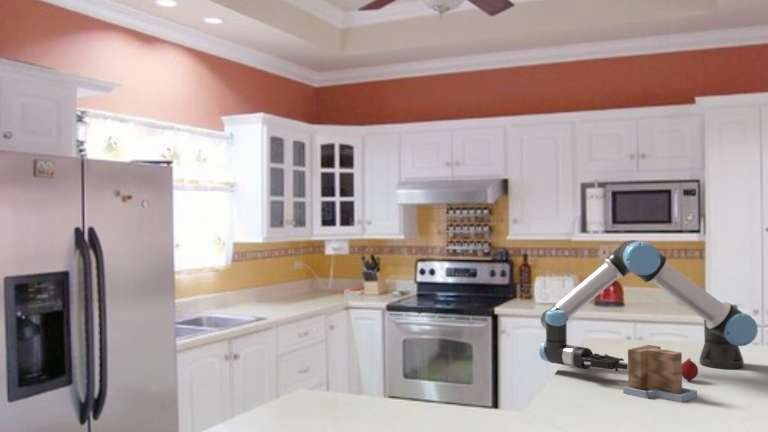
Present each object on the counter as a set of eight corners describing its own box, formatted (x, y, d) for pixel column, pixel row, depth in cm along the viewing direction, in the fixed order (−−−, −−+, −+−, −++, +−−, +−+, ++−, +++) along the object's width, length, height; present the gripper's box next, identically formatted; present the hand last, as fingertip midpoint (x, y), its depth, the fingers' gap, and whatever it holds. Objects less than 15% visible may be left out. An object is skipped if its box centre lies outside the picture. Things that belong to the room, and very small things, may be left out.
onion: (699, 383, 242) (699, 360, 242) (682, 382, 243) (681, 359, 243) (696, 379, 248) (695, 356, 248) (678, 378, 249) (678, 356, 249)
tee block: (688, 394, 229) (687, 350, 229) (668, 400, 221) (667, 356, 221) (648, 385, 240) (648, 344, 240) (628, 392, 232) (627, 349, 232)
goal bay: (703, 394, 228) (703, 388, 228) (675, 404, 217) (675, 398, 217) (651, 384, 242) (651, 378, 242) (623, 393, 231) (623, 387, 231)
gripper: (589, 364, 259) (648, 376, 240) (567, 370, 251) (626, 382, 232) (589, 344, 259) (648, 354, 240) (566, 349, 251) (626, 359, 232)
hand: (637, 368), depth 236 cm, fingers closed
